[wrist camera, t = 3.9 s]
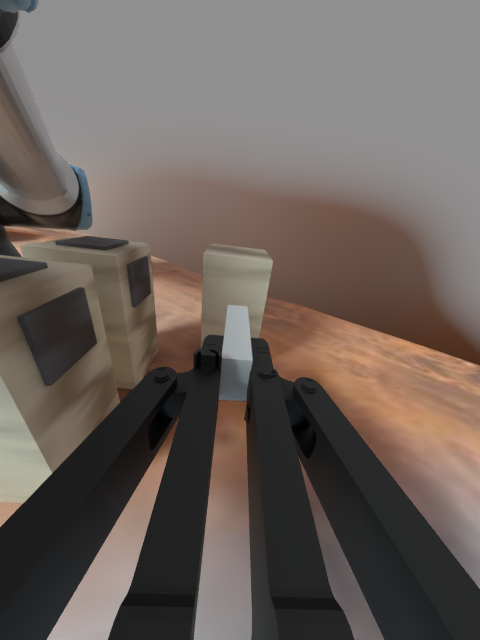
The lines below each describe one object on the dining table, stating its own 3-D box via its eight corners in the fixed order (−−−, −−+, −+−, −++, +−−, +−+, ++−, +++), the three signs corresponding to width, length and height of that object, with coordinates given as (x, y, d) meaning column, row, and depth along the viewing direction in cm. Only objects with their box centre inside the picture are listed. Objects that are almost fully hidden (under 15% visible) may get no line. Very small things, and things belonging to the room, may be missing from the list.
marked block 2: (47, 405, 20) (-22, 246, 13) (127, 410, 20) (97, 259, 14) (-46, 499, 13) (-269, 280, 7) (74, 505, 14) (-29, 303, 7)
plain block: (207, 335, 34) (211, 243, 27) (250, 339, 34) (265, 249, 28) (200, 364, 27) (203, 253, 21) (253, 368, 28) (272, 261, 21)
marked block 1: (106, 345, 29) (82, 232, 22) (161, 349, 29) (153, 240, 23) (68, 384, 22) (18, 241, 16) (139, 389, 23) (118, 252, 16)
